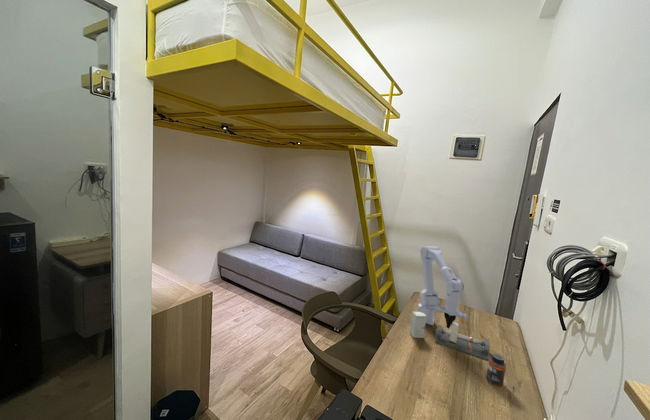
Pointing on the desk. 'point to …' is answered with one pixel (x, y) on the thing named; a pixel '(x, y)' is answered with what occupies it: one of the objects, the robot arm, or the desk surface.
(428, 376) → the desk surface
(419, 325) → the skincare box
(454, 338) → the collar
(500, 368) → the supplement bottle
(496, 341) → the desk surface
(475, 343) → the pipe rig
